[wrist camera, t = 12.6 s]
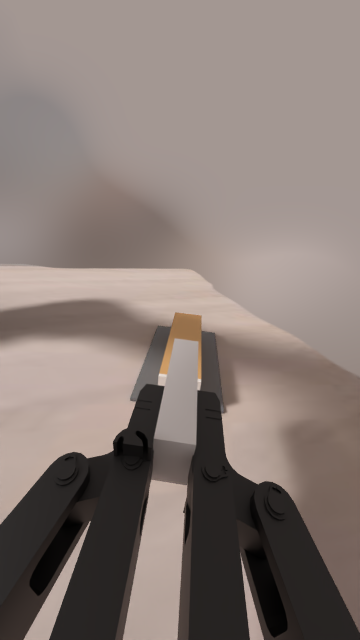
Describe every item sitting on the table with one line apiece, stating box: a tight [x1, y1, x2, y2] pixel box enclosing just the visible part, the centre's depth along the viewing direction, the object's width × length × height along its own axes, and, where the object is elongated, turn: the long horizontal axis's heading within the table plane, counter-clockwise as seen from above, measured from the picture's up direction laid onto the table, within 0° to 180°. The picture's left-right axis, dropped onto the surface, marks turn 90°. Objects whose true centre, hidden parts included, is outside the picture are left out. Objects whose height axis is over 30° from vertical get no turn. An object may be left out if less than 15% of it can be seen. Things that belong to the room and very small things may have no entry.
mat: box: [130, 326, 224, 413], centre depth 33 cm, size 18×11×1 cm, turn 175°
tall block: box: [158, 312, 201, 390], centre depth 30 cm, size 4×4×16 cm
